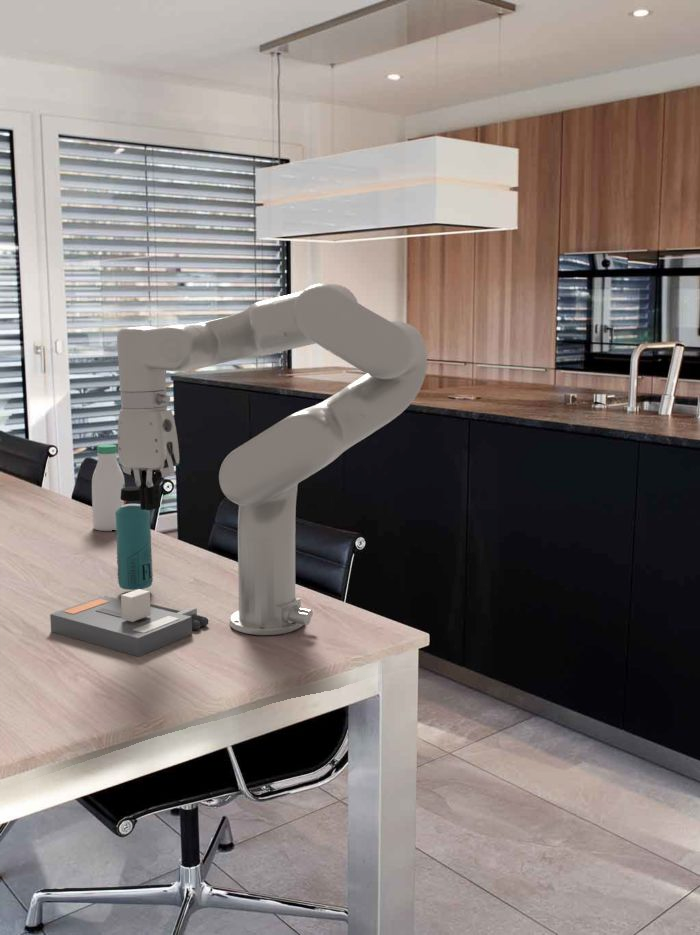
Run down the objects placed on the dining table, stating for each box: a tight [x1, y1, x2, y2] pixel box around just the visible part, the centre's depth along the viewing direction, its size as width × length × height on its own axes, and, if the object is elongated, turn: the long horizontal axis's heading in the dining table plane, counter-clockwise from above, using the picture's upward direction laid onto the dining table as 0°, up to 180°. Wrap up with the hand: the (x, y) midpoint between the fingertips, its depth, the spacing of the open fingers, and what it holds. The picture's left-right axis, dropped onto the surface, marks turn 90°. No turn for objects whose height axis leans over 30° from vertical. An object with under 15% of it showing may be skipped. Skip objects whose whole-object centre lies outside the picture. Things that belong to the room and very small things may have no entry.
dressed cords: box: [150, 603, 209, 631], centre depth 163 cm, size 20×4×2 cm, turn 57°
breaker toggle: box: [120, 589, 151, 622], centre depth 153 cm, size 2×4×4 cm, turn 147°
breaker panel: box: [49, 595, 193, 658], centre depth 155 cm, size 20×12×3 cm, turn 57°
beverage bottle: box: [115, 486, 154, 591], centre depth 175 cm, size 6×7×20 cm
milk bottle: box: [91, 443, 127, 532], centre depth 225 cm, size 8×8×20 cm
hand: (150, 508), depth 162 cm, fingers closed
